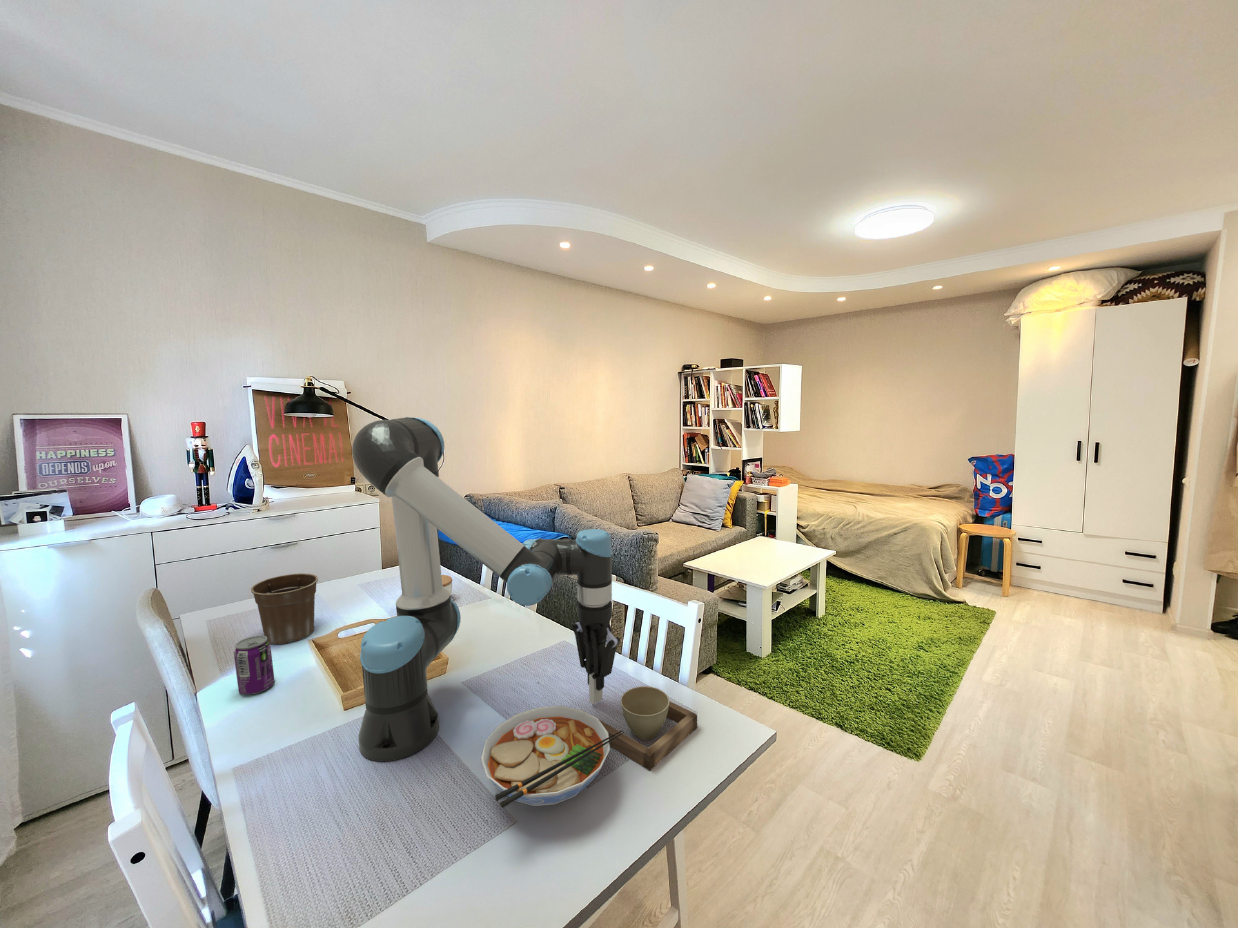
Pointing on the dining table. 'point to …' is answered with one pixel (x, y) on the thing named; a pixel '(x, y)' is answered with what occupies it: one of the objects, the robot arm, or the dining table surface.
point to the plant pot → (286, 606)
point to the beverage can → (253, 665)
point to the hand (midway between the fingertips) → (596, 700)
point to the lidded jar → (447, 582)
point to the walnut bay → (659, 748)
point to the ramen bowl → (545, 755)
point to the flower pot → (645, 710)
